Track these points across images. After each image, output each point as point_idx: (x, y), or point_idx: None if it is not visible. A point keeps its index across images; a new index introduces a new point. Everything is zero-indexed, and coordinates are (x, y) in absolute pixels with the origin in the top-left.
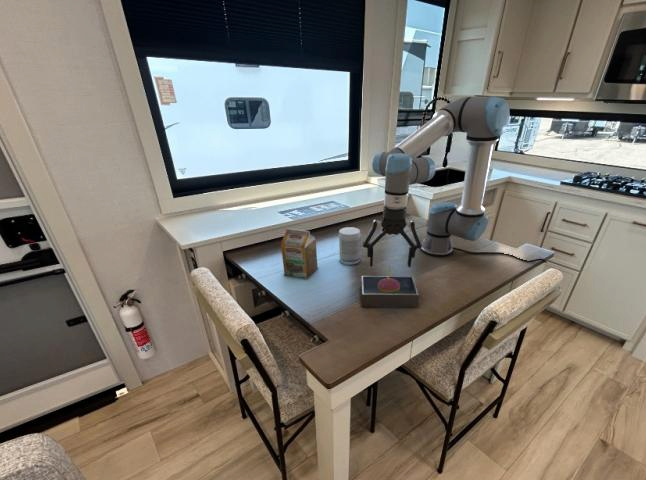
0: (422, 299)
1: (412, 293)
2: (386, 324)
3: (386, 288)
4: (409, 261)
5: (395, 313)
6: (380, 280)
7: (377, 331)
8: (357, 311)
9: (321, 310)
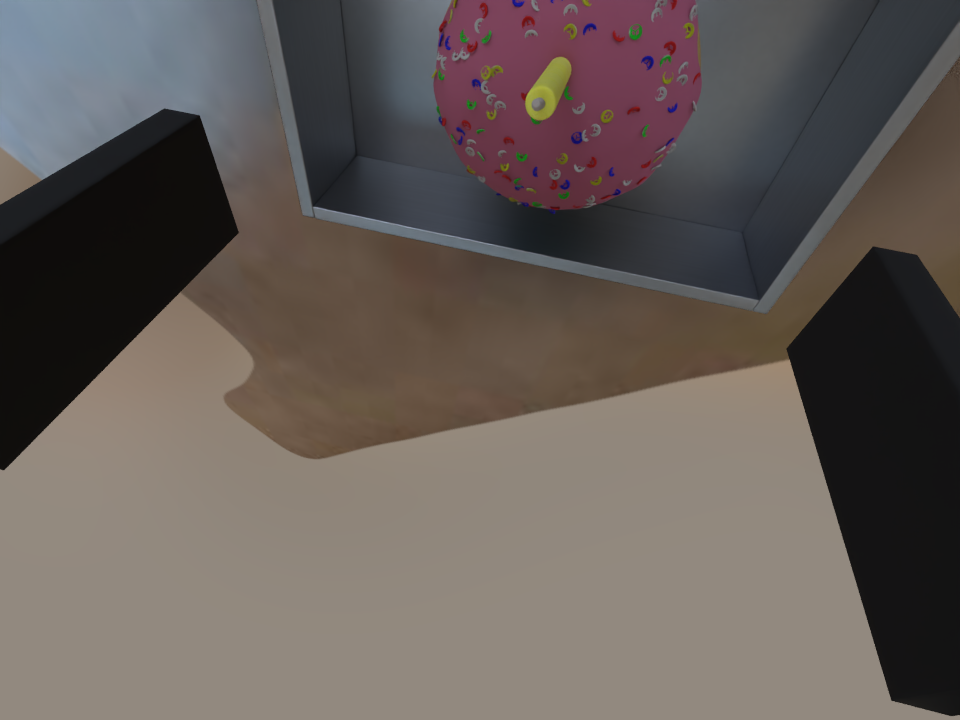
0: None
1: (854, 54)
2: (483, 334)
3: (504, 195)
4: (818, 433)
5: None
6: (463, 17)
7: (435, 360)
8: None
9: None
